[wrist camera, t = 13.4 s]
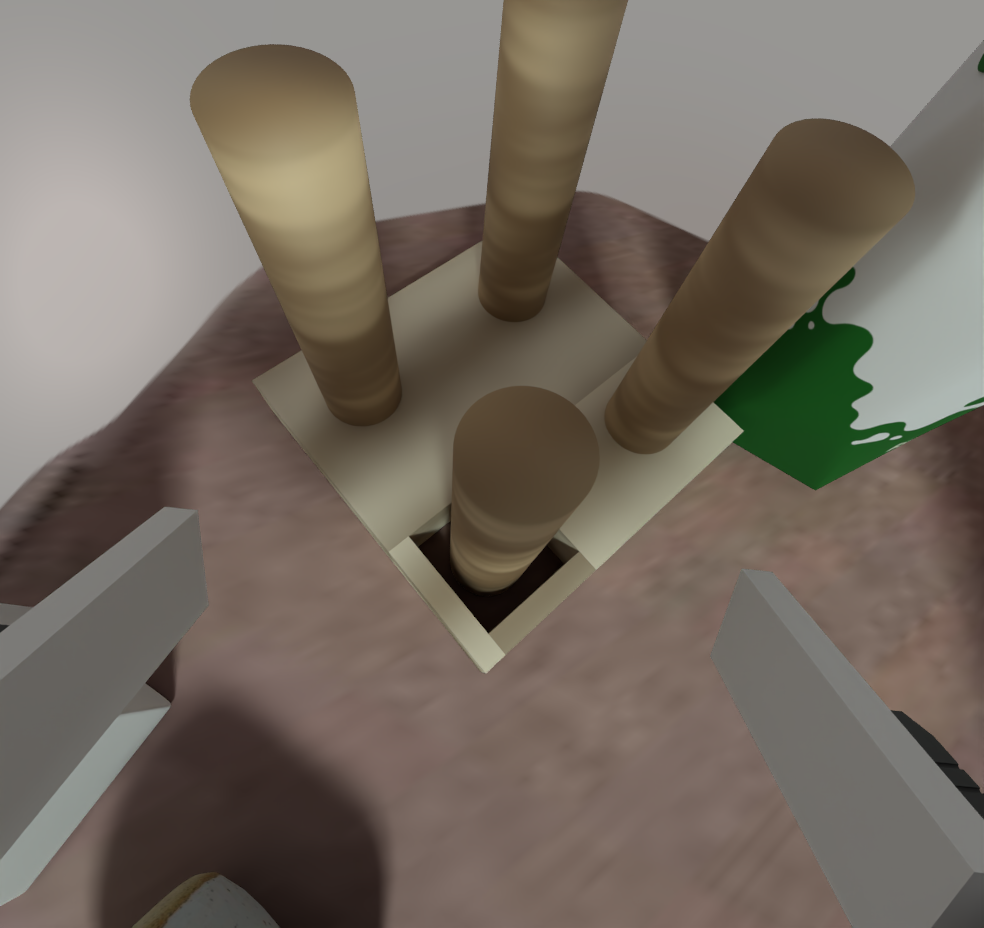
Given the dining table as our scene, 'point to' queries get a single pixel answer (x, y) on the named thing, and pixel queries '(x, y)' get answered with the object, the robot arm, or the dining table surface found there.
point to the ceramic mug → (207, 906)
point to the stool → (517, 293)
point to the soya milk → (886, 317)
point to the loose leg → (515, 482)
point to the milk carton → (76, 784)
